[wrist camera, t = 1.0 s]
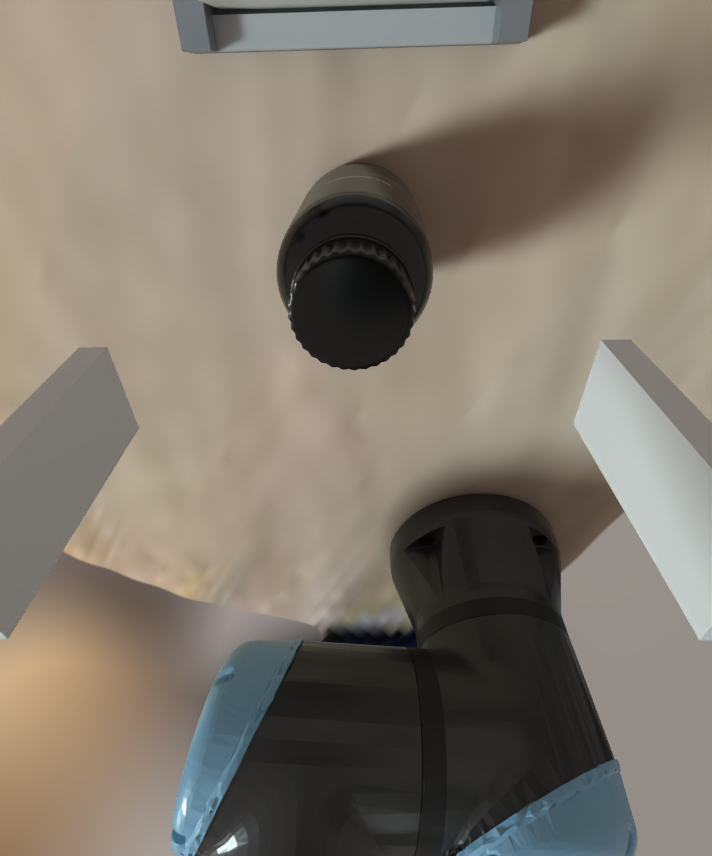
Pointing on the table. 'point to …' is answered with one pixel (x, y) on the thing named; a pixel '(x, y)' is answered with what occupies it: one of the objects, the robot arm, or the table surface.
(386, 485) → the table surface
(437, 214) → the table surface
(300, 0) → the plate
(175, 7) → the pusher lane
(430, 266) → the supplement bottle
